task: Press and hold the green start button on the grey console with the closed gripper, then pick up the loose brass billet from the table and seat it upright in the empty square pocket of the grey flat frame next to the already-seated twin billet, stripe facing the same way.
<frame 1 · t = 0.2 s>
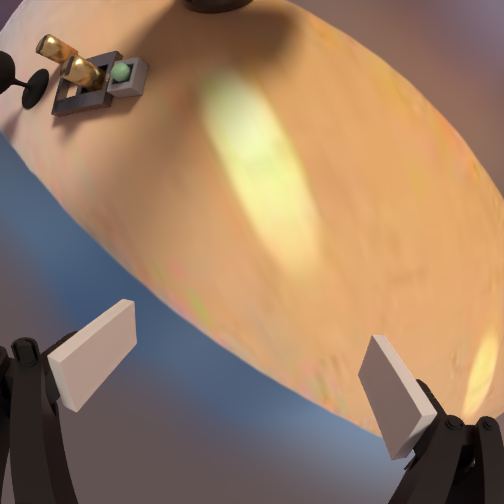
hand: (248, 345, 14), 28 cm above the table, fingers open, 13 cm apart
console: (133, 81, 37), on the table
start button: (120, 72, 32), point 5 cm above the table, slide at 0.0 cm
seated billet: (100, 83, 37), resting in grey flat frame
loose billet: (70, 58, 36), on the table
grey flat frame: (88, 86, 37), on the table
wine glass: (35, 88, 38), on the table
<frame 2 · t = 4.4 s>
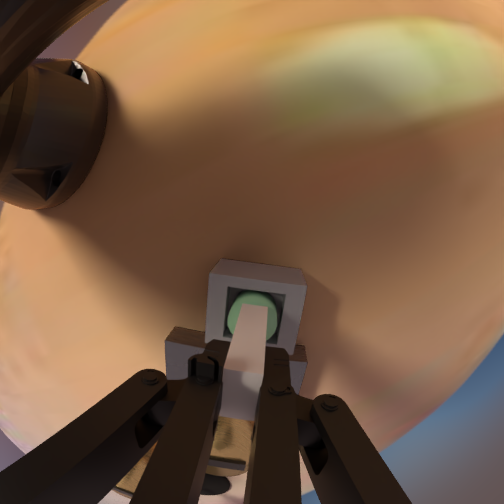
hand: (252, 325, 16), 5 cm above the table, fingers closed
console: (256, 295, 21), on the table
start button: (253, 315, 17), point 4 cm above the table, slide at 0.8 cm, touching gripper
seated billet: (234, 372, 22), resting in grey flat frame
loose billet: (151, 428, 25), on the table
grey flat frame: (231, 397, 23), on the table
wine glass: (194, 477, 28), on the table
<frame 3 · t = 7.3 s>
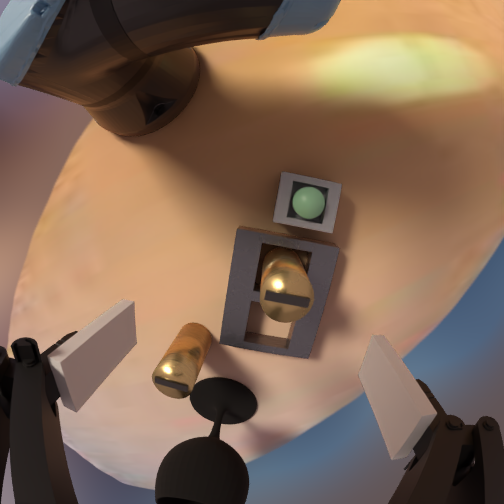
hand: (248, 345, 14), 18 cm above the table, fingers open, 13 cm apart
console: (303, 201, 30), on the table
start button: (307, 202, 26), point 4 cm above the table, slide at 0.8 cm
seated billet: (281, 265, 31), resting in grey flat frame
loose billet: (195, 337, 34), on the table
grey flat frame: (276, 292, 32), on the table
wine glass: (223, 401, 37), on the table
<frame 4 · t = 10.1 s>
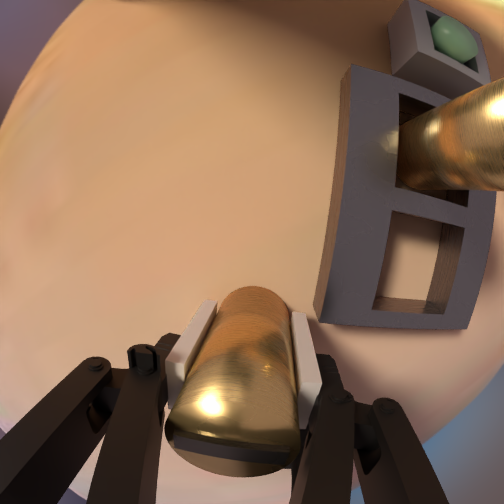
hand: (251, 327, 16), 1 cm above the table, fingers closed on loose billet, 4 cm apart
console: (426, 62, 12), on the table
start button: (452, 41, 9), point 4 cm above the table, slide at 0.8 cm
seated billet: (418, 155, 14), resting in grey flat frame
loose billet: (253, 319, 17), on the table, touching gripper
grey flat frame: (413, 206, 15), on the table
wine glass: (296, 435, 19), on the table
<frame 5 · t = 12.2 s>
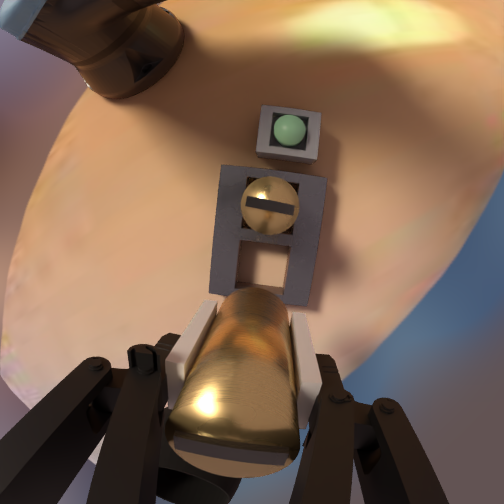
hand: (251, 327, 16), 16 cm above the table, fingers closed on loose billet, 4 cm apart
console: (287, 139, 28), on the table
start button: (289, 131, 25), point 4 cm above the table, slide at 0.8 cm
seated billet: (270, 205, 30), resting in grey flat frame
loose billet: (253, 320, 17), point 15 cm above the table, touching gripper
grey flat frame: (266, 234, 31), on the table
wine glass: (218, 370, 35), on the table
when the fingers open (4 cm above the table, at t = 14.6 s): loose billet drops 2 cm, resting in grey flat frame.
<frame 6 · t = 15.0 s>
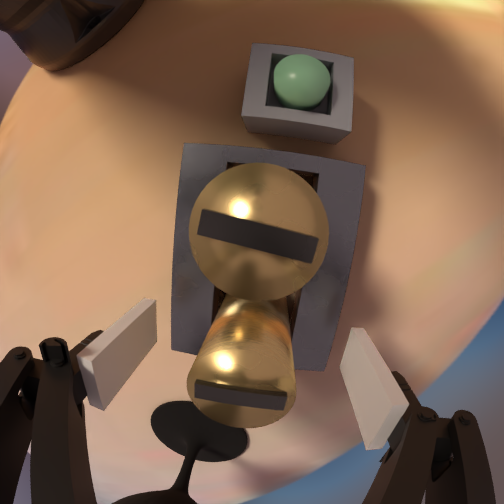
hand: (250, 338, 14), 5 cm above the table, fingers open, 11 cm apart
console: (295, 104, 16), on the table
start button: (300, 83, 13), point 4 cm above the table, slide at 0.8 cm
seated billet: (268, 210, 18), resting in grey flat frame
loose billet: (256, 302, 19), resting in grey flat frame
grey flat frame: (262, 258, 19), on the table
wine glass: (198, 432, 23), on the table
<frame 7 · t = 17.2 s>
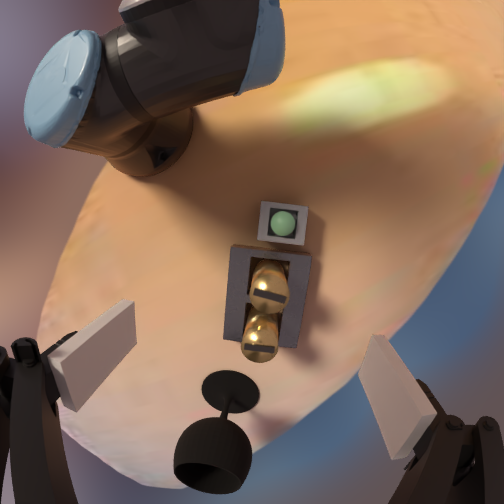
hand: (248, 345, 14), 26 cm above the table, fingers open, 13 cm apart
console: (282, 221, 38), on the table
start button: (282, 223, 34), point 4 cm above the table, slide at 0.8 cm
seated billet: (268, 273, 39), resting in grey flat frame
loose billet: (263, 315, 41), resting in grey flat frame
grey flat frame: (266, 295, 40), on the table
wine glass: (230, 391, 44), on the table
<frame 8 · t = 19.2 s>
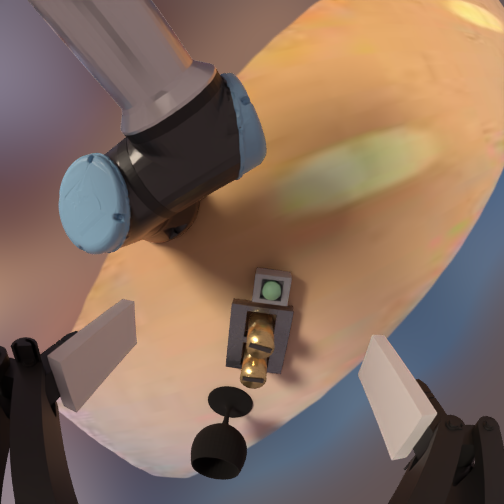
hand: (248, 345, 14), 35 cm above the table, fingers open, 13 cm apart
console: (271, 282, 49), on the table
start button: (271, 289, 45), point 4 cm above the table, slide at 0.8 cm
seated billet: (260, 320, 50), resting in grey flat frame
loose billet: (256, 349, 52), resting in grey flat frame
grey flat frame: (258, 335, 51), on the table
wine glass: (230, 401, 56), on the table
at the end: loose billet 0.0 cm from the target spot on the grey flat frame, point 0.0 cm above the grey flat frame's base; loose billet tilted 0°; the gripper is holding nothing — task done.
